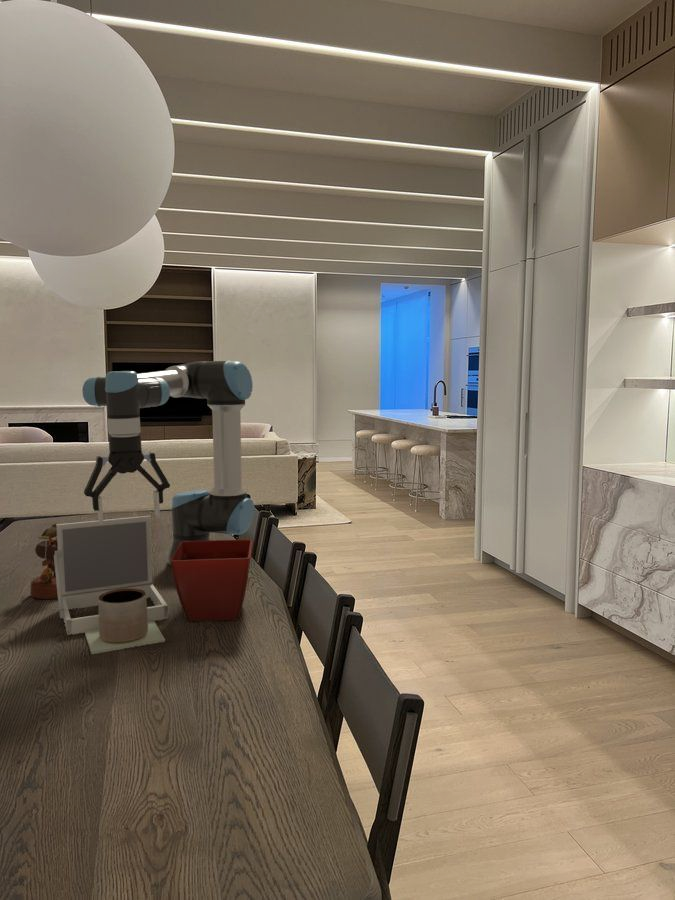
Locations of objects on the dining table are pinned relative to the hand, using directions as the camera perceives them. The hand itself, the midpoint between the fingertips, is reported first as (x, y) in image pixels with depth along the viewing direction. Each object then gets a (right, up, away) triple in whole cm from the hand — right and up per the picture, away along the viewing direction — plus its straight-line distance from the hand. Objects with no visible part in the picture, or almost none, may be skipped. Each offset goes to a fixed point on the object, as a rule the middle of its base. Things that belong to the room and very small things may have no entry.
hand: (129, 520), depth 168 cm
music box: (-28, -23, +22) cm, 42 cm away
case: (-6, -25, +5) cm, 26 cm away
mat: (+2, -27, -10) cm, 28 cm away
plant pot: (+20, -25, +7) cm, 33 cm away
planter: (+2, -26, -10) cm, 28 cm away
